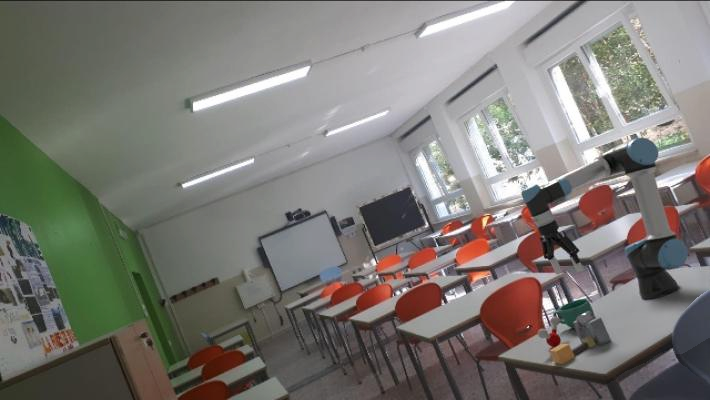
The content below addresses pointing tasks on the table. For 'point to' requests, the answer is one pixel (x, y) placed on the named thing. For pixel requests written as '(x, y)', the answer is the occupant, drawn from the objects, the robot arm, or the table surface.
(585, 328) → the housing
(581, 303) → the mug
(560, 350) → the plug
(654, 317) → the table surface
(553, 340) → the molecular model
